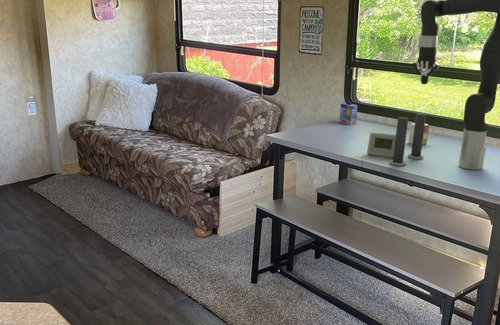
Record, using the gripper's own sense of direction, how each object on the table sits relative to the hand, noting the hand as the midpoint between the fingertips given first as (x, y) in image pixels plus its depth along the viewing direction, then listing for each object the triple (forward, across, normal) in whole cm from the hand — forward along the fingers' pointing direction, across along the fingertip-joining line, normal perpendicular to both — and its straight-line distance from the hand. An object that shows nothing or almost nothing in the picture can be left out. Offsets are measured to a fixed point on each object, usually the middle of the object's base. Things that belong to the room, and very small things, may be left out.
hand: (424, 84), depth 231 cm
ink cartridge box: (+34, +64, -37) cm, 82 cm away
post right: (+34, -2, +5) cm, 35 cm away
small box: (+34, +10, -22) cm, 42 cm away
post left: (+34, -2, +22) cm, 41 cm away
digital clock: (+34, +9, +14) cm, 38 cm away
